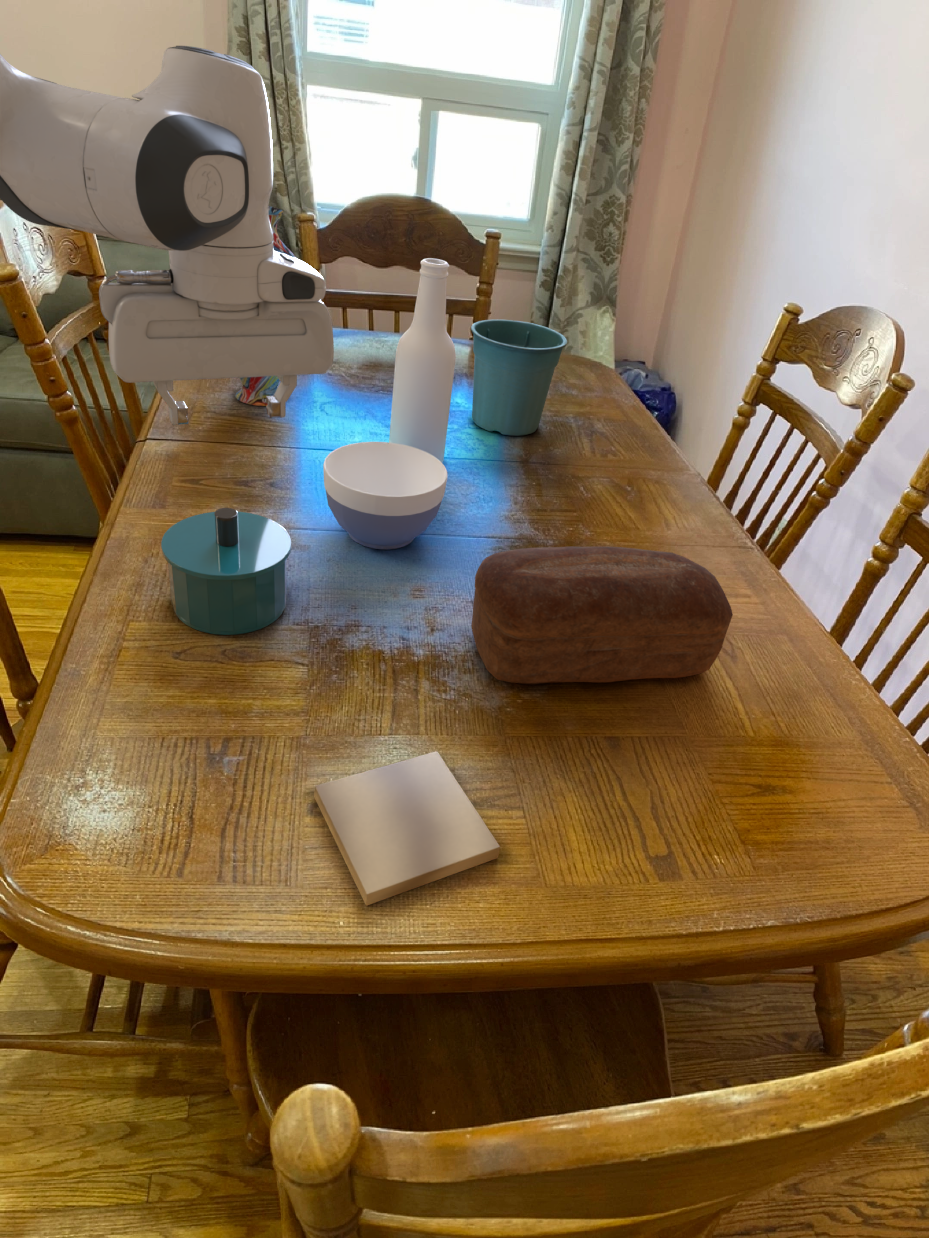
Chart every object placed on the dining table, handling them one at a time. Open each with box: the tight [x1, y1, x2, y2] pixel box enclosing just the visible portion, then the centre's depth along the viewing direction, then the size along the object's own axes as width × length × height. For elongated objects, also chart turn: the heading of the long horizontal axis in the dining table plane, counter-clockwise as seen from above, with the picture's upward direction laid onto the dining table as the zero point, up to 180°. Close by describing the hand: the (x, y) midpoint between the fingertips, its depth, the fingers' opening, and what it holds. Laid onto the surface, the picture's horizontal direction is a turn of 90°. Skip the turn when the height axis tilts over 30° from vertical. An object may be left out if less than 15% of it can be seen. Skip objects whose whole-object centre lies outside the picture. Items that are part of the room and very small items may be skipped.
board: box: [313, 750, 501, 906], centre depth 70 cm, size 12×12×2 cm
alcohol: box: [388, 257, 457, 463], centre depth 122 cm, size 9×9×30 cm
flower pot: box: [470, 319, 568, 437], centre depth 143 cm, size 16×16×16 cm
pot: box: [167, 558, 288, 636], centre depth 92 cm, size 12×12×8 cm
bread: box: [470, 545, 734, 685], centre depth 91 cm, size 14×28×12 cm, turn 102°
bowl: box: [322, 441, 448, 550], centre depth 108 cm, size 16×16×10 cm
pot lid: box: [160, 507, 292, 580], centre depth 89 cm, size 14×14×5 cm
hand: (228, 419), depth 81 cm, fingers open, 8 cm apart
